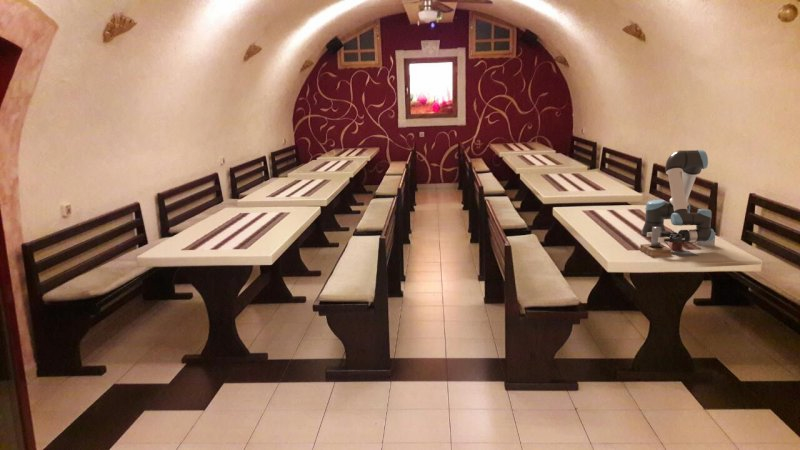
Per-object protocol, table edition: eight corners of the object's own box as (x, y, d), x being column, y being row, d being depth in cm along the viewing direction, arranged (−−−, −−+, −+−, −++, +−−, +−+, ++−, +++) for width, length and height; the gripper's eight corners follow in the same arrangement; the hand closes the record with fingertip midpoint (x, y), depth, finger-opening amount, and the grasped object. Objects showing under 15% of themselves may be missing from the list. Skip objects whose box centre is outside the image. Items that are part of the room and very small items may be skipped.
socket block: (640, 250, 354) (640, 244, 354) (659, 249, 355) (659, 243, 354) (651, 256, 341) (651, 250, 340) (670, 255, 341) (671, 249, 341)
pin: (649, 252, 350) (650, 226, 347) (657, 251, 351) (658, 226, 347) (653, 254, 345) (654, 228, 342) (661, 254, 346) (663, 228, 342)
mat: (668, 252, 349) (668, 251, 349) (688, 251, 350) (688, 250, 350) (679, 257, 338) (679, 256, 338) (699, 256, 338) (699, 255, 338)
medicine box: (710, 244, 364) (711, 230, 362) (714, 246, 360) (715, 232, 358) (698, 244, 364) (699, 231, 362) (702, 246, 359) (703, 232, 357)
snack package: (682, 251, 350) (683, 240, 349) (670, 251, 352) (671, 240, 351) (675, 242, 371) (676, 232, 369) (664, 242, 372) (664, 232, 371)
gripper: (698, 247, 335) (662, 248, 334) (675, 236, 360) (642, 238, 359) (699, 234, 334) (663, 236, 333) (676, 225, 358) (643, 226, 357)
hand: (652, 237), depth 346 cm, fingers open, 13 cm apart
